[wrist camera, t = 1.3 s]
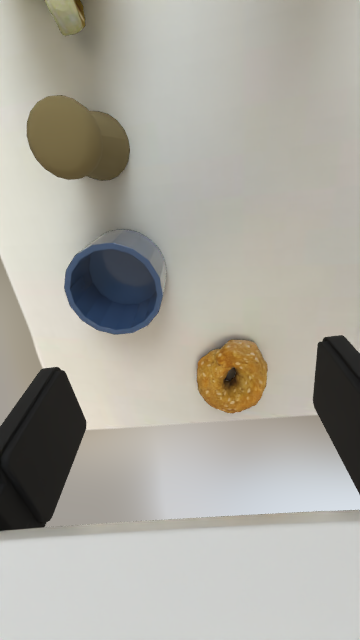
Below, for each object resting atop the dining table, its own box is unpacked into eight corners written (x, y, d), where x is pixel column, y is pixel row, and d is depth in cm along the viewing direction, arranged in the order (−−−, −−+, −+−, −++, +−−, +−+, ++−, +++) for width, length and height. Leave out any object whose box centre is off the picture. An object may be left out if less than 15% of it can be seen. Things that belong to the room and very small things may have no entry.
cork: (72, 177, 31) (19, 182, 21) (67, 108, 28) (2, 76, 18) (129, 183, 31) (103, 190, 21) (130, 114, 28) (99, 86, 18)
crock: (76, 234, 33) (51, 249, 27) (159, 224, 33) (153, 237, 26) (97, 310, 38) (80, 338, 32) (171, 302, 37) (168, 329, 31)
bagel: (279, 348, 40) (290, 369, 36) (243, 403, 45) (249, 427, 41) (214, 325, 39) (217, 344, 34) (184, 384, 44) (184, 407, 39)
